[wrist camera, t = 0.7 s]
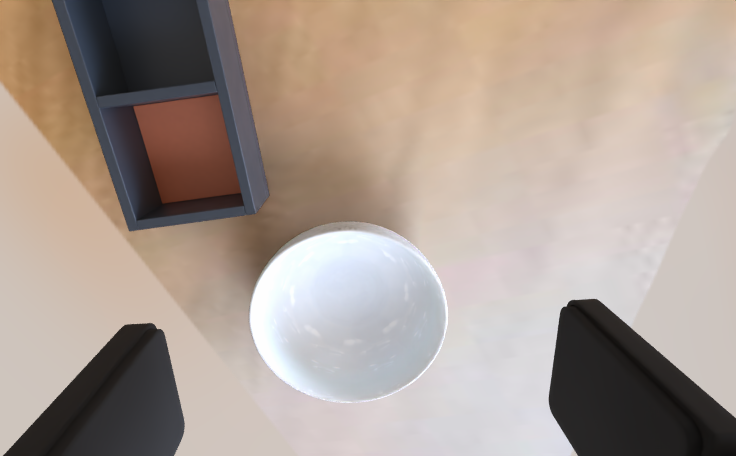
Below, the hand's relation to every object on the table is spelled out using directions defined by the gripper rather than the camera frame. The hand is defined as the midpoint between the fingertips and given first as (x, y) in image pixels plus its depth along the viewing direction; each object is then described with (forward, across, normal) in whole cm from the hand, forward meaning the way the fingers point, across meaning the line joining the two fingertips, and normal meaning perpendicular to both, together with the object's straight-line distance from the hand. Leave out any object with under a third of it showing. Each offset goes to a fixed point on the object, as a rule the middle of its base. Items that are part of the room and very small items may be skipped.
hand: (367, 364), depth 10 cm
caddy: (+30, +14, -6) cm, 33 cm away
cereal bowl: (+30, +1, +13) cm, 32 cm away
